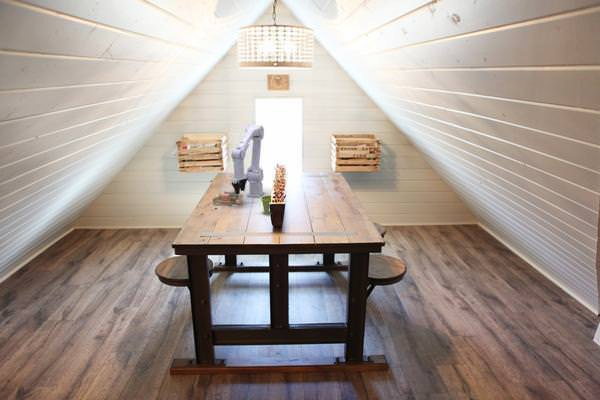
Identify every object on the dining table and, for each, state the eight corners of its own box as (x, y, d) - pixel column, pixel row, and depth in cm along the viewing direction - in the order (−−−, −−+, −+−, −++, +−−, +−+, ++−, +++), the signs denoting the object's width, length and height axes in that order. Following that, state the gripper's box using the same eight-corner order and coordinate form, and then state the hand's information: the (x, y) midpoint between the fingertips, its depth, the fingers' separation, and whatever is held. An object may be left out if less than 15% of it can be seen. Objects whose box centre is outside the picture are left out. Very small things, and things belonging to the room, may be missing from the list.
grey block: (229, 198, 279) (228, 190, 277) (236, 199, 278) (235, 190, 276) (226, 200, 275) (225, 192, 273) (233, 201, 274) (232, 192, 272)
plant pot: (274, 215, 247) (273, 200, 244) (258, 214, 250) (257, 199, 247) (280, 210, 255) (280, 196, 253) (265, 209, 258) (264, 194, 256)
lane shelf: (224, 197, 282) (224, 191, 281) (241, 198, 279) (241, 192, 278) (213, 204, 267) (212, 198, 266) (230, 206, 264) (230, 199, 263)
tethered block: (224, 202, 272) (223, 192, 270) (244, 203, 269) (243, 193, 267) (220, 204, 268) (220, 194, 266) (241, 205, 265) (240, 196, 263)
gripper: (240, 172, 253) (241, 196, 257) (250, 167, 266) (251, 189, 270) (229, 172, 255) (230, 195, 259) (239, 166, 268) (240, 188, 272)
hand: (240, 192), depth 265 cm, fingers open, 7 cm apart
